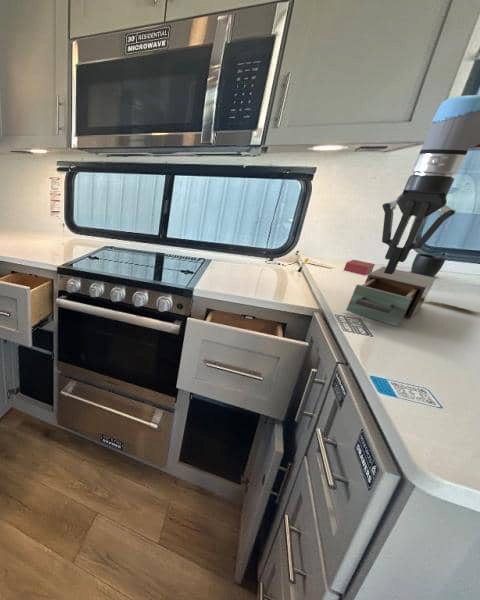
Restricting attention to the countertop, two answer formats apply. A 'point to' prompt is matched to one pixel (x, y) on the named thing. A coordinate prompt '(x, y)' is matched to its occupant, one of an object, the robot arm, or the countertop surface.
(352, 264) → the red rectangular block
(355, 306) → the drawer
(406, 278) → the cabinet
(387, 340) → the countertop surface
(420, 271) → the mug
